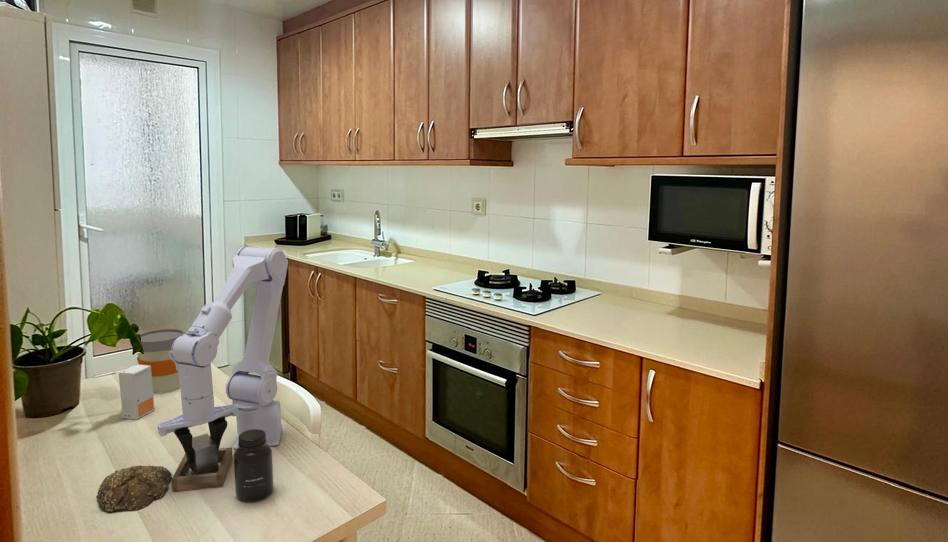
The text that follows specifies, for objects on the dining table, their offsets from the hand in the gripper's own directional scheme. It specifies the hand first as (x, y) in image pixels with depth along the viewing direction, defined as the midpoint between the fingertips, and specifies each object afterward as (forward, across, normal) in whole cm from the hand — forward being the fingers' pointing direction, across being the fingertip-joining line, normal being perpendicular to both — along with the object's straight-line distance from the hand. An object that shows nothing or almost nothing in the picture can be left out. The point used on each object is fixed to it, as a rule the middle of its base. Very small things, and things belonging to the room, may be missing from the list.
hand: (202, 457), depth 115 cm
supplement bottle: (+4, -5, +13) cm, 15 cm away
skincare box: (+4, +4, -40) cm, 40 cm away
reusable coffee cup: (+4, -6, -55) cm, 55 cm away
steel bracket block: (+2, 0, 0) cm, 2 cm away
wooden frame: (+4, 0, 0) cm, 4 cm away
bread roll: (+4, +12, -2) cm, 13 cm away
